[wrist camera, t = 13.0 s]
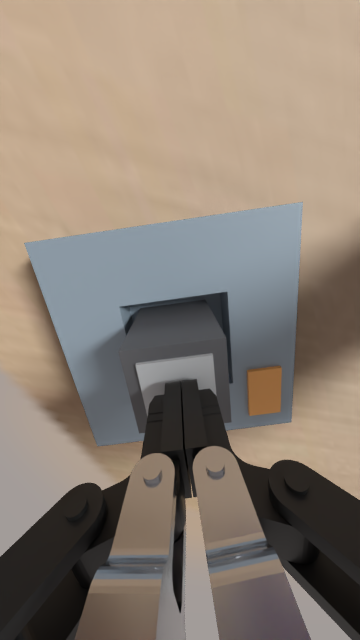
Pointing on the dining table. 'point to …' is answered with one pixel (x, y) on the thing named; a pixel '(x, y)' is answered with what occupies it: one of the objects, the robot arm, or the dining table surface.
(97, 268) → the socket plate
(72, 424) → the dining table surface
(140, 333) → the plug
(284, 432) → the dining table surface
